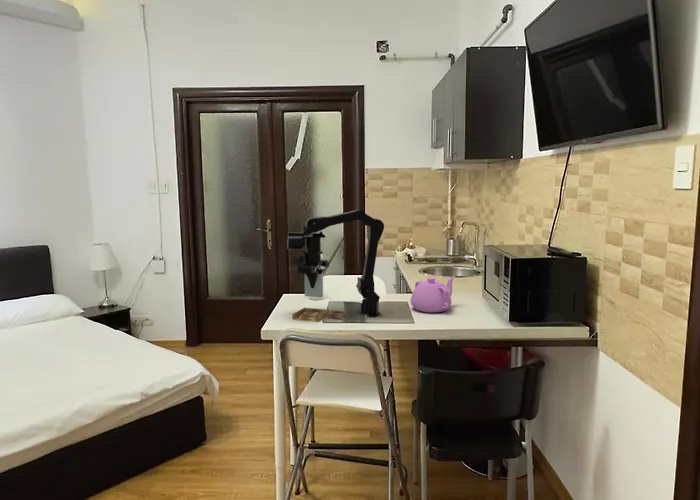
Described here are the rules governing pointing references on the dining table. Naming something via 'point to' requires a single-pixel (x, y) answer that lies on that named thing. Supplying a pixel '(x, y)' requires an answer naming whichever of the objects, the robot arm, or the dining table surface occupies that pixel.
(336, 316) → the holder
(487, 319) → the dining table surface
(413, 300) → the teapot
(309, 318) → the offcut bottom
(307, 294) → the grey rectangular slab
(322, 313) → the tray
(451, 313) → the dining table surface
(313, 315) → the offcut top
